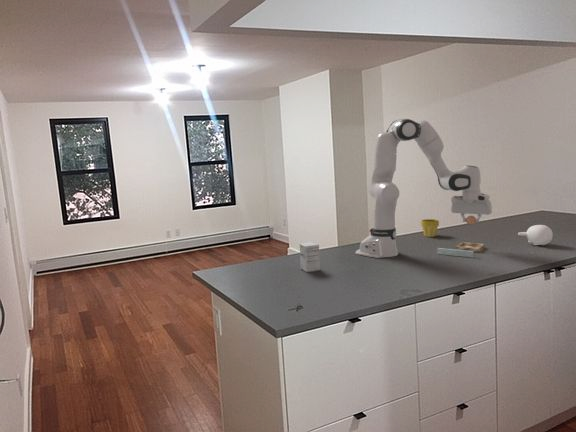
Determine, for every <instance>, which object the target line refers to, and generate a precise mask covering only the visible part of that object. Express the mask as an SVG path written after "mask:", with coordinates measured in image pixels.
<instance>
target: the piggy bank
mask: <svg viewBox="0 0 576 432" xmlns="http://www.w3.org/2000/svg"><path fill="white" fill-rule="evenodd" d="M517 235H518V236H521V237H522V236H525V237H526V238H527V240H528V241H527V242H528V243H531V244H533V246H534V245H542V246H545V245H548V244H550V243H551V241H552V239H553V235H554V234H553V230H552V228H550V227H549V226H547V225H545V224H536V225H535V224H534V225H532V226H530V227H528V229H526V231H522V232H518V233H517Z"/></svg>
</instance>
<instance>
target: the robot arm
mask: <svg viewBox="0 0 576 432" xmlns="http://www.w3.org/2000/svg"><path fill="white" fill-rule="evenodd" d="M411 140H414V141H415V143H417V146H419V149H420V150H421V152H422V153H423V154H424V155H425V157H426V158H427V160H428V161H429V164H430V165H431V167H432V168H433V170H434V172H435V173H436V175H437V182H438V186H440V188H441V189H443V190H446V191H453V192H459V191H462V194H461V195H453V196H452V197H451V199H450V200H451V207H450V208H451V209H450V211H451V213H452V214H460V216H461V218H462V222H463V223H467V222H466V218H467V217H466V216H465V215H466V214H469V215H470V214H471V215H477V218H476V219H475V223H478V224H479V223H480V219H481V217H482V215H485V216H486V215H491V214H492V212H493V207H492V202H491V200H490V197H491V196H490V195H489V194H487V193H484V192H481V188H480V186H481V183H482V182H481V179H482V178H481V170H480V168H479V167H478V166H474V165H464V166H463V167H462V168H460V169H459V170H457V171H455V172H454V171H451V169H449V168H448V166H447V165H446V163H445V161H444V160H443V158H442V153H443V151H444V145H445V144H444V143H443V140H442V138H441V136H440V135H439V134H438V132H437V130H436V129H435V128H434V127H433V125H431V124H430V122H428V121H427V120H420V121H418V122H417V121H414V120H412V119H410V118H399V119H397V120H396V119H395V120H394V121H392V123H391V124H389V126H388V127H387V129H386V131H383V132H381V133H379V134H378V135H377V137H376V142H375V148H374V162H373V163H374V164H373V171H372V175H371V176H372V177H371V182H370V185H369V188H368V189H369V191H368V193H369V194H370V196H371V197H372V199H374V200H375V206H374V211H373V213H372V216H373V217H372V218H373V220H372V221H373V227H372V228H370V229H369V230H368V233H370V235H368V236H367V237H365V238H364V239H362V241H361V242H360V245H359V249H357V250H356V251H355V255H358V256H365V257H370V258H376V259H380V258H391V257H392V258H393V257H396V256H398V255H399V251H398V248H397V244H396V243H397V240H396V238H397V230H396V222H395V221H396V209H397V205H398V204H397V203H398V199H399V197H400V189H399V188H398V186H397V185H396V184H395V183H393V177H394V175H395V172H396V170H397V169H396V168H397V151H398V149H397V147H398V146H399V145H398V144H399V143H400V142H406V141H411Z"/></svg>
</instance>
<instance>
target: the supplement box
mask: <svg viewBox="0 0 576 432" xmlns="http://www.w3.org/2000/svg"><path fill="white" fill-rule="evenodd" d="M299 258H300V260H299V261H300V262H299V263H300V269H301V270H303V271H304V272H306V273H309V272H317V271H320V270H321V268H320V266H321V265H320V263H321V262H320V245H319V244H318V243H315V242H313V241H310V242H309V241H308V242H302V243H299Z"/></svg>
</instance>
